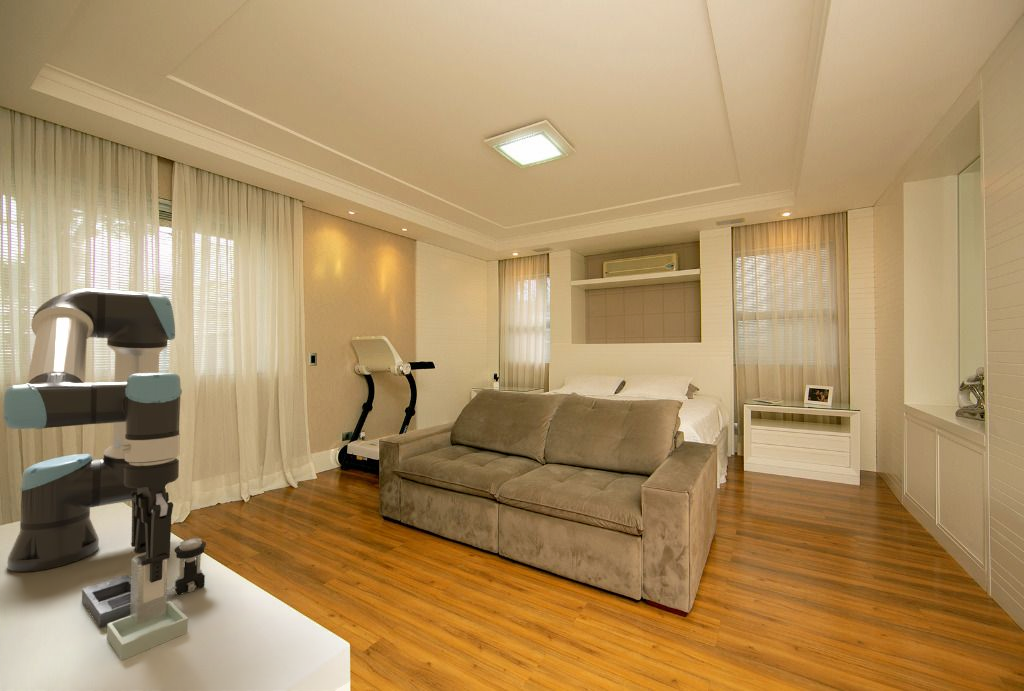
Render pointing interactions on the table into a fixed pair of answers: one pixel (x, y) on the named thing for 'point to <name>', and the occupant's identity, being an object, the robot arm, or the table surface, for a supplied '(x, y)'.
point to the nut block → (137, 606)
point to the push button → (189, 566)
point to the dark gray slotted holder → (108, 600)
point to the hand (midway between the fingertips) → (148, 593)
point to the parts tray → (146, 631)
